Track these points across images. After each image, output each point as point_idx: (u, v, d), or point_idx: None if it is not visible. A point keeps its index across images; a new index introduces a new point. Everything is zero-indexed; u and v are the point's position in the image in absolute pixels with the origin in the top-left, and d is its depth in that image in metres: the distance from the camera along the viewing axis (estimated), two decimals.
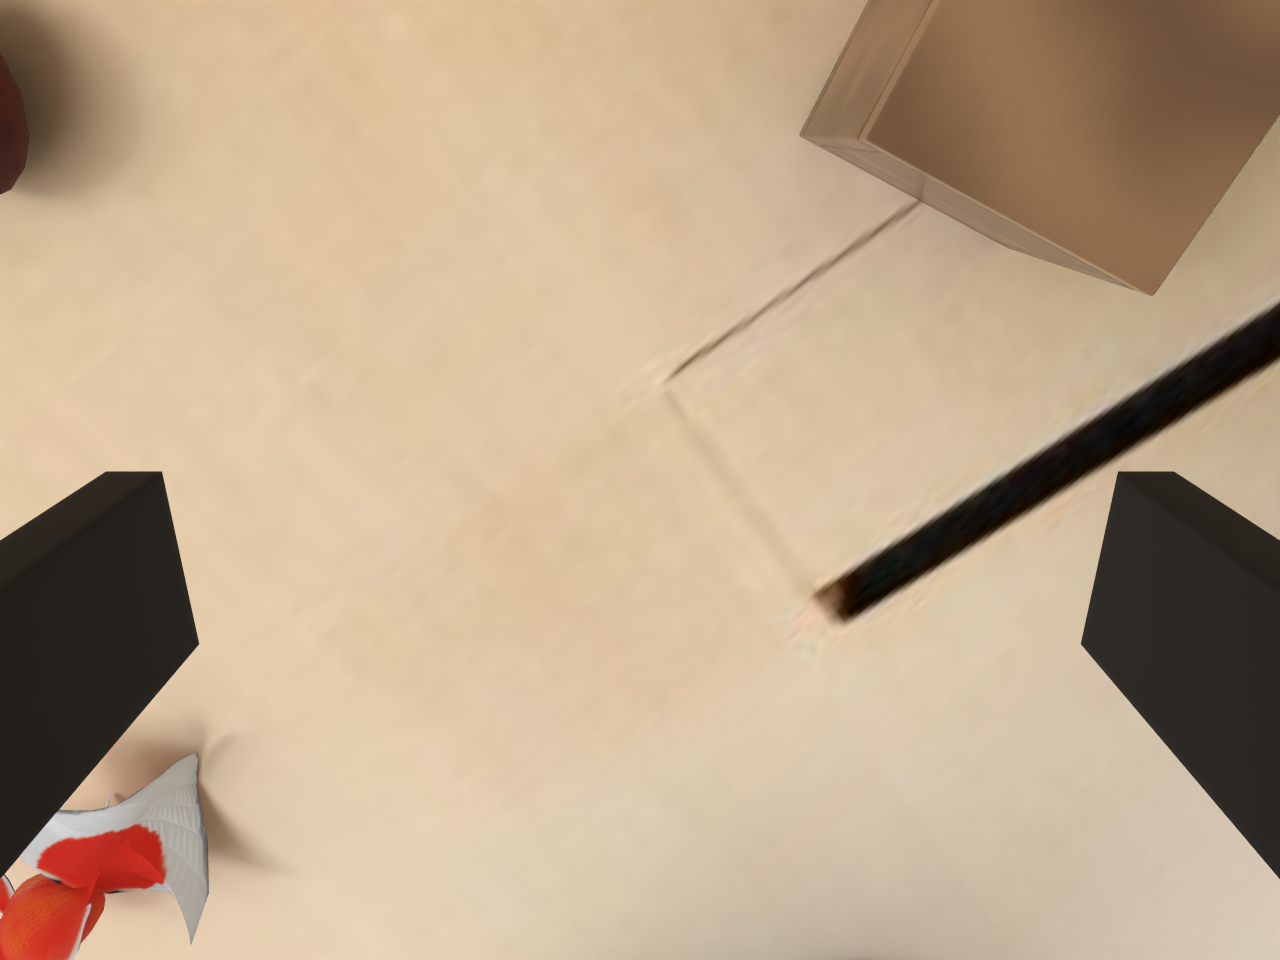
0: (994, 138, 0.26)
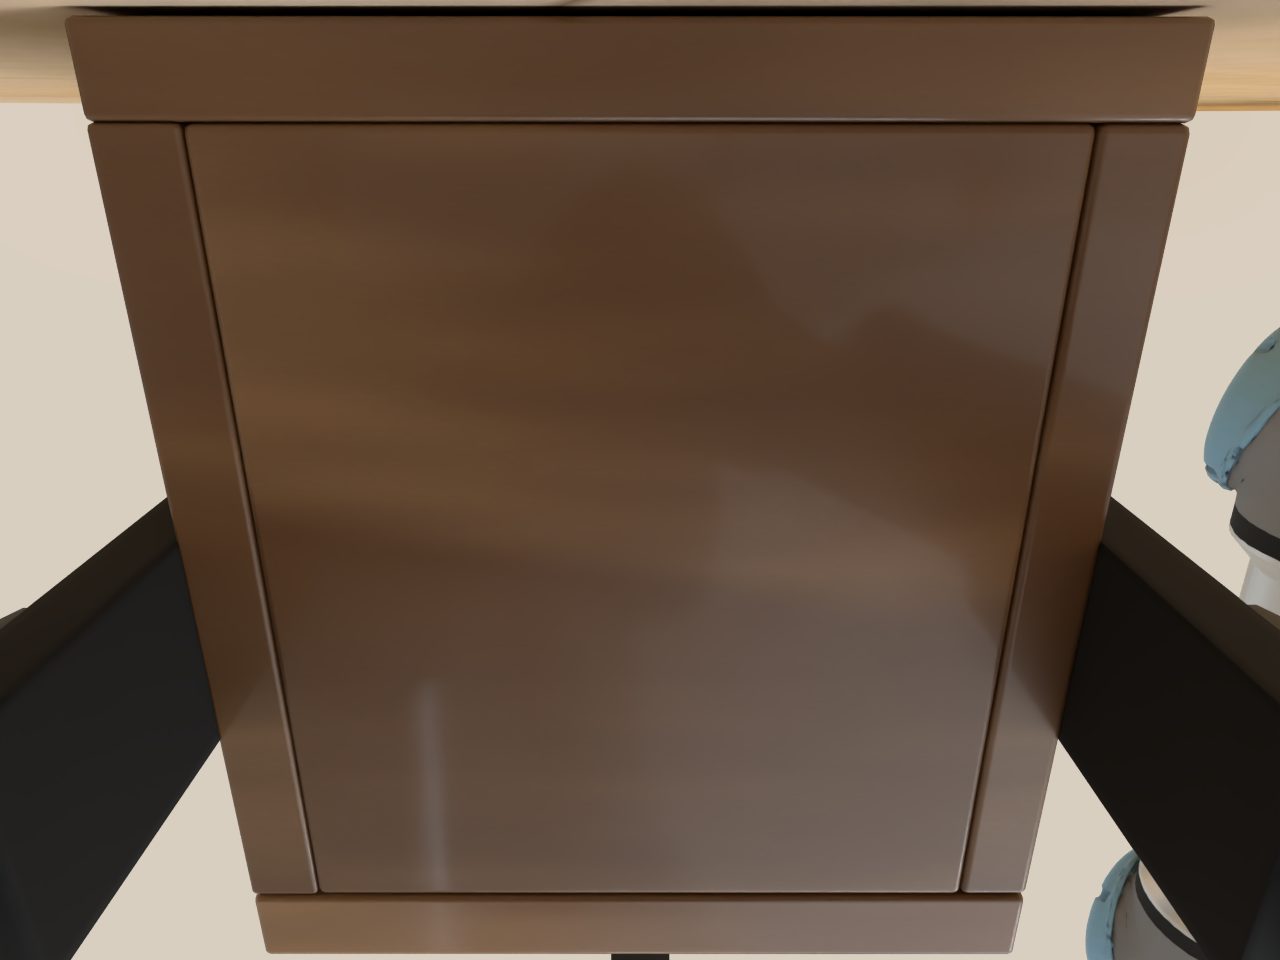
0: None
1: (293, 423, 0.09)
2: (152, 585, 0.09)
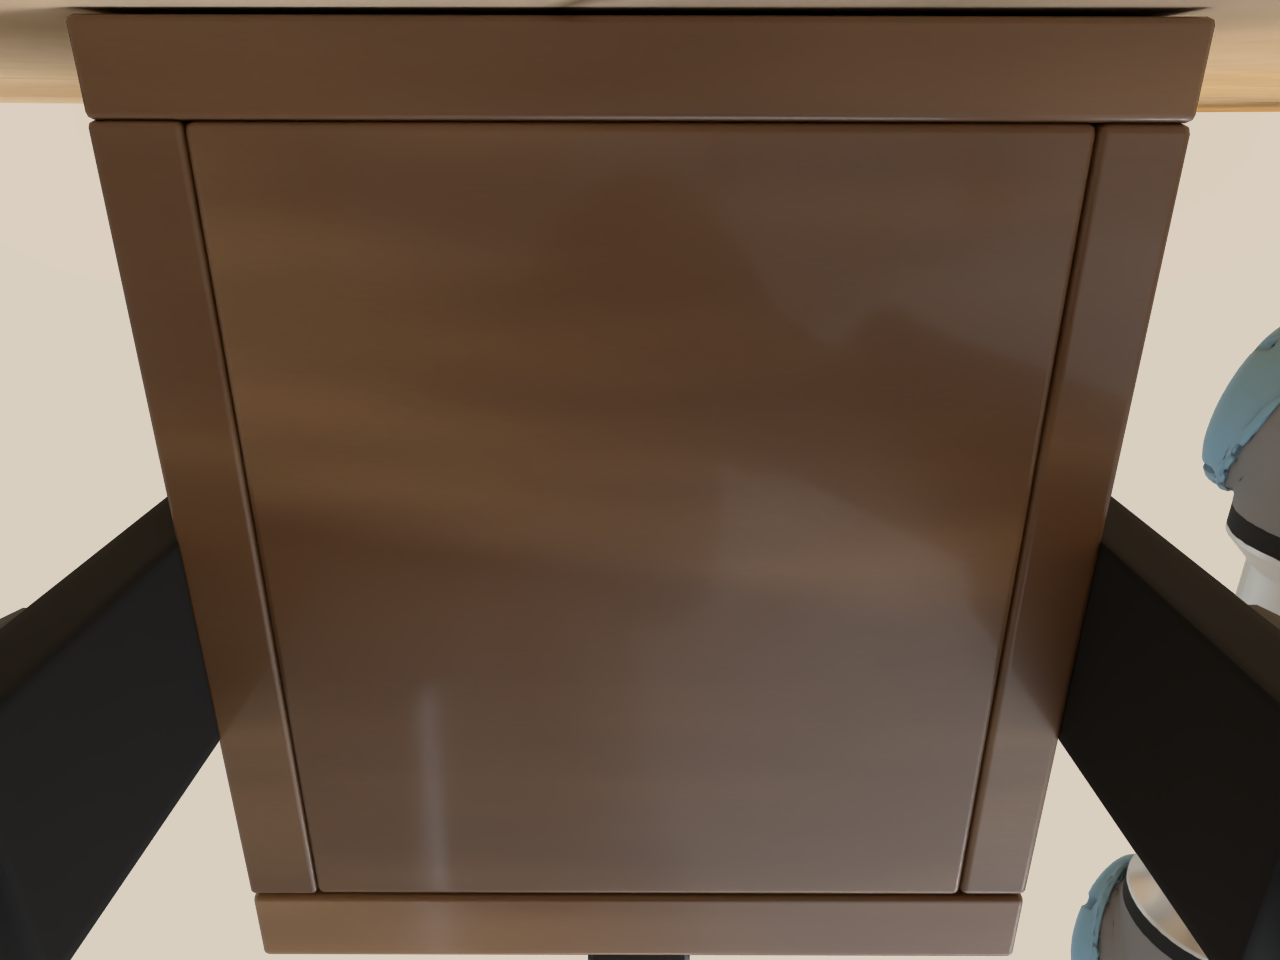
0: None
1: (293, 421, 0.09)
2: (152, 585, 0.09)
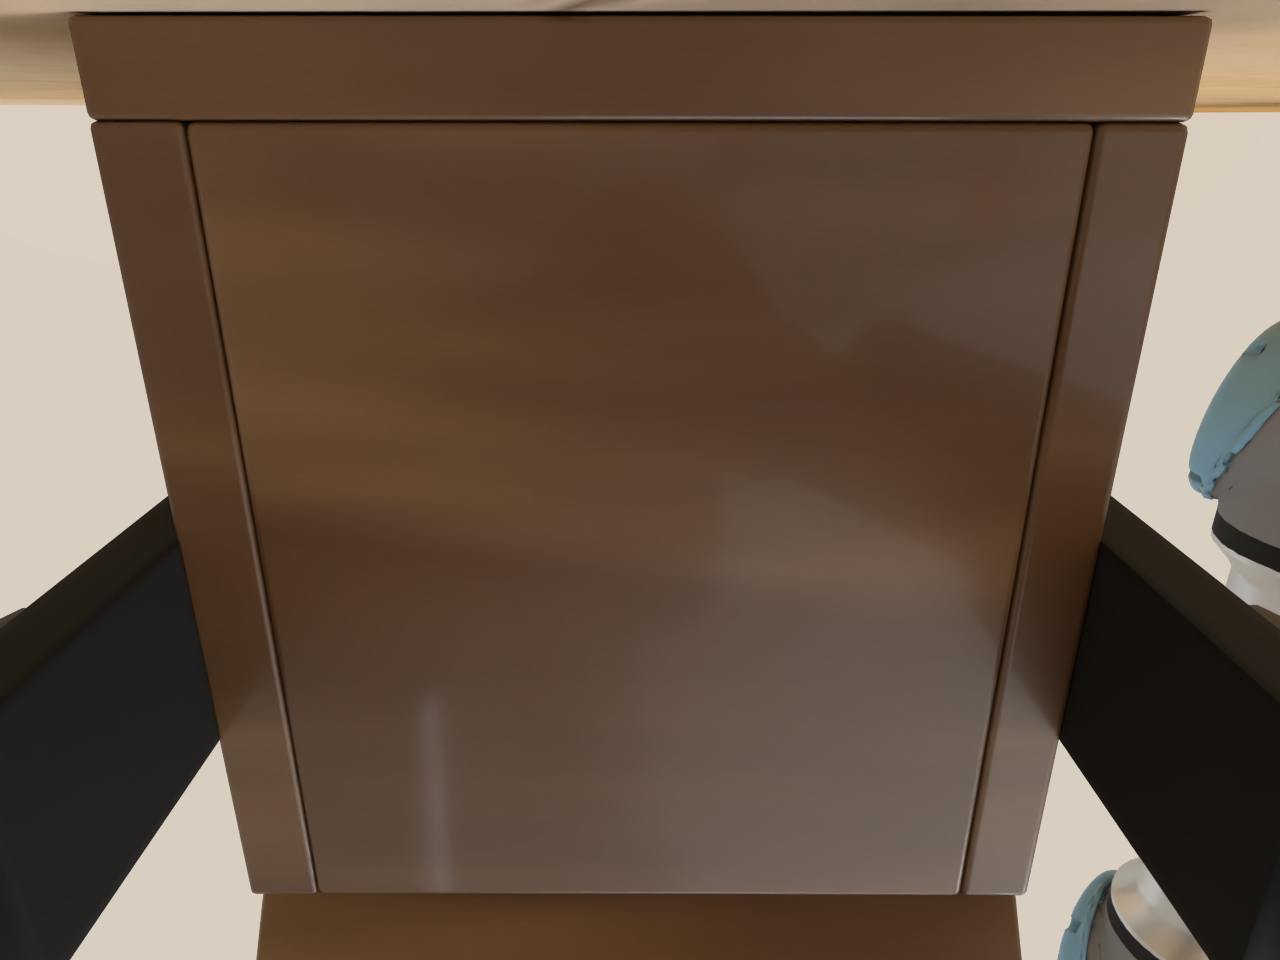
0: None
1: (293, 421, 0.09)
2: (151, 585, 0.09)
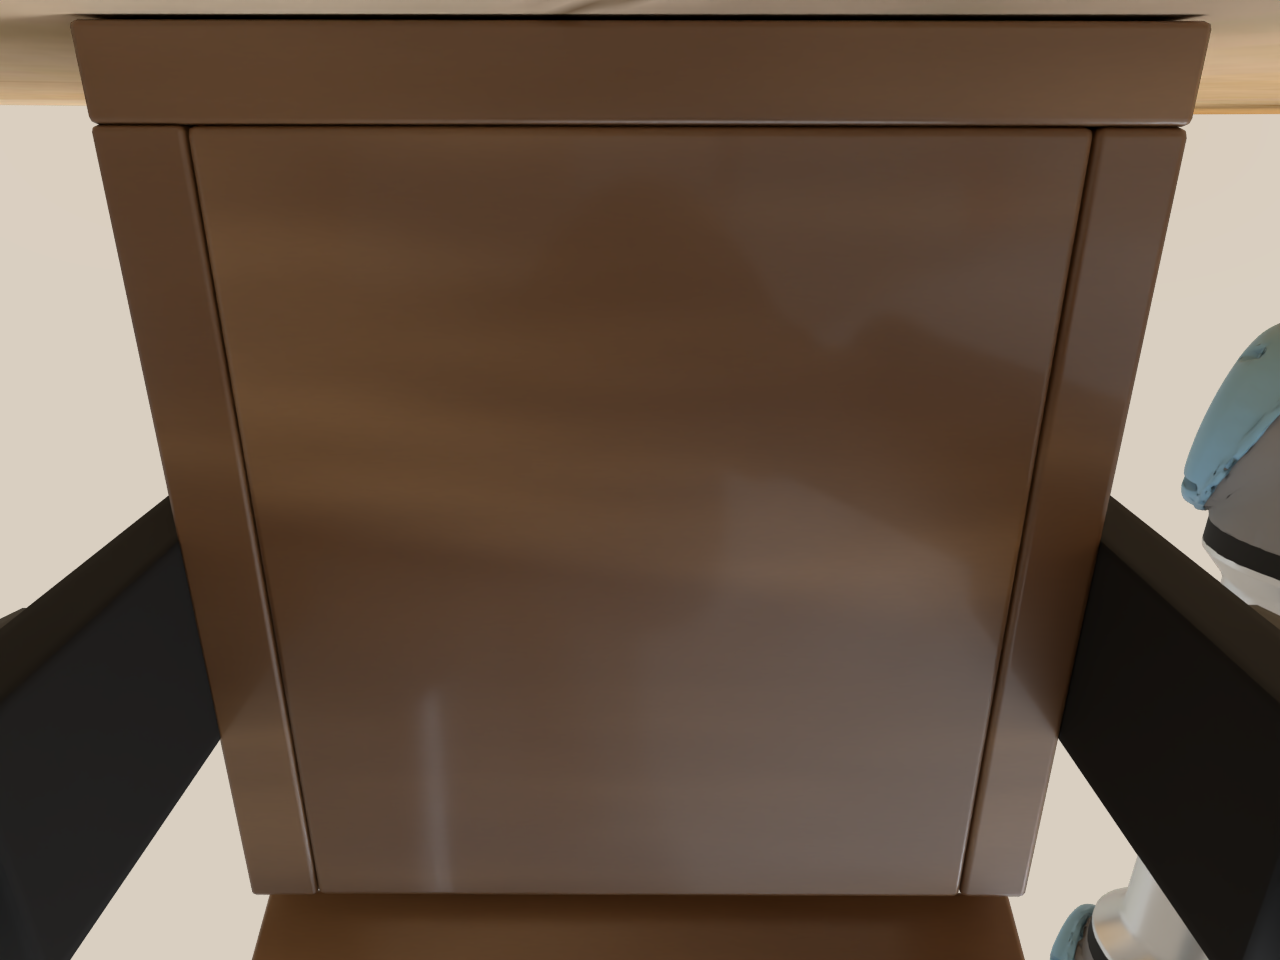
0: None
1: (294, 424, 0.09)
2: (151, 585, 0.09)
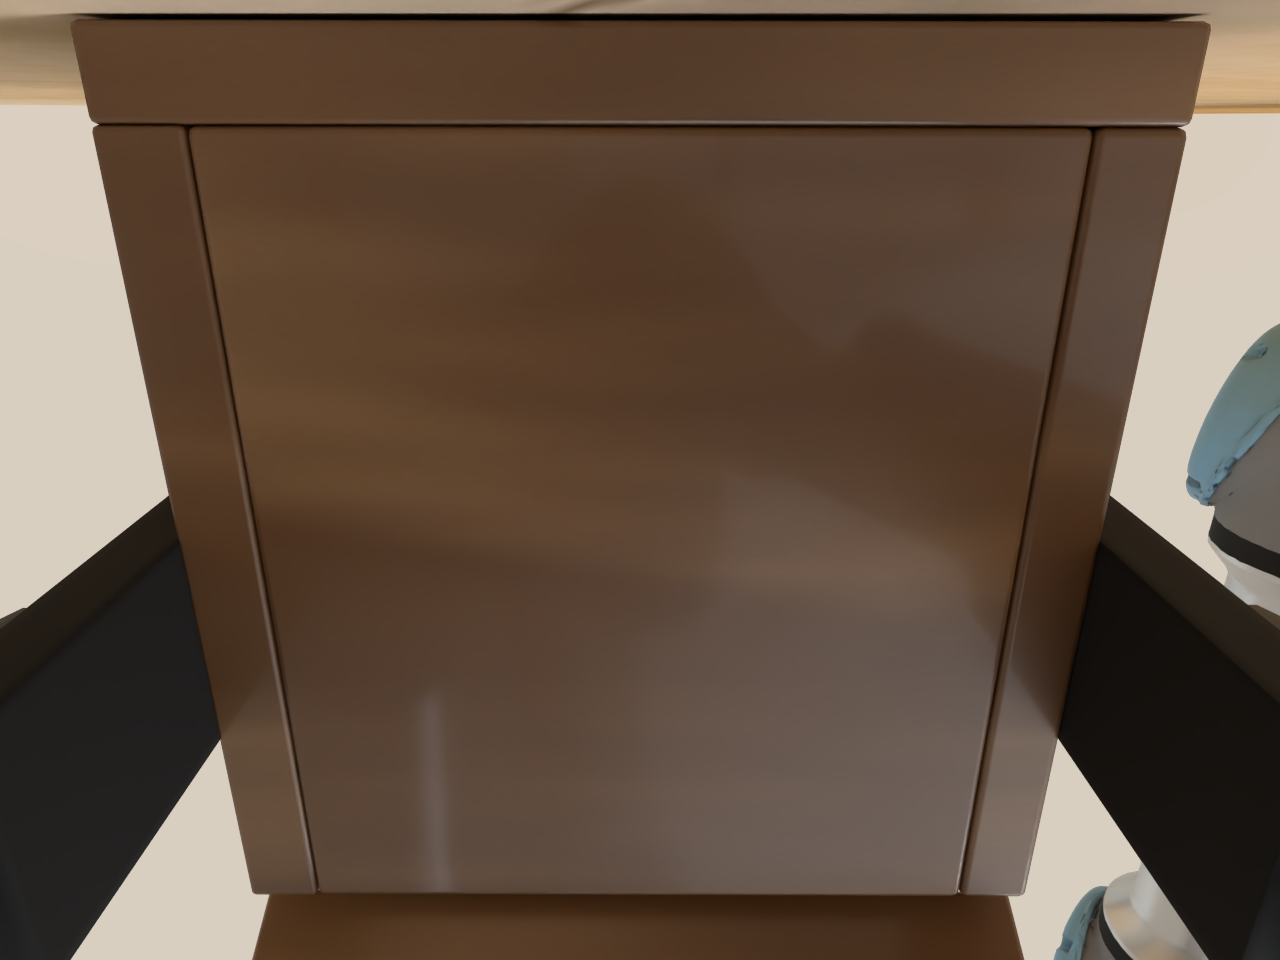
0: None
1: (295, 424, 0.09)
2: (151, 585, 0.09)
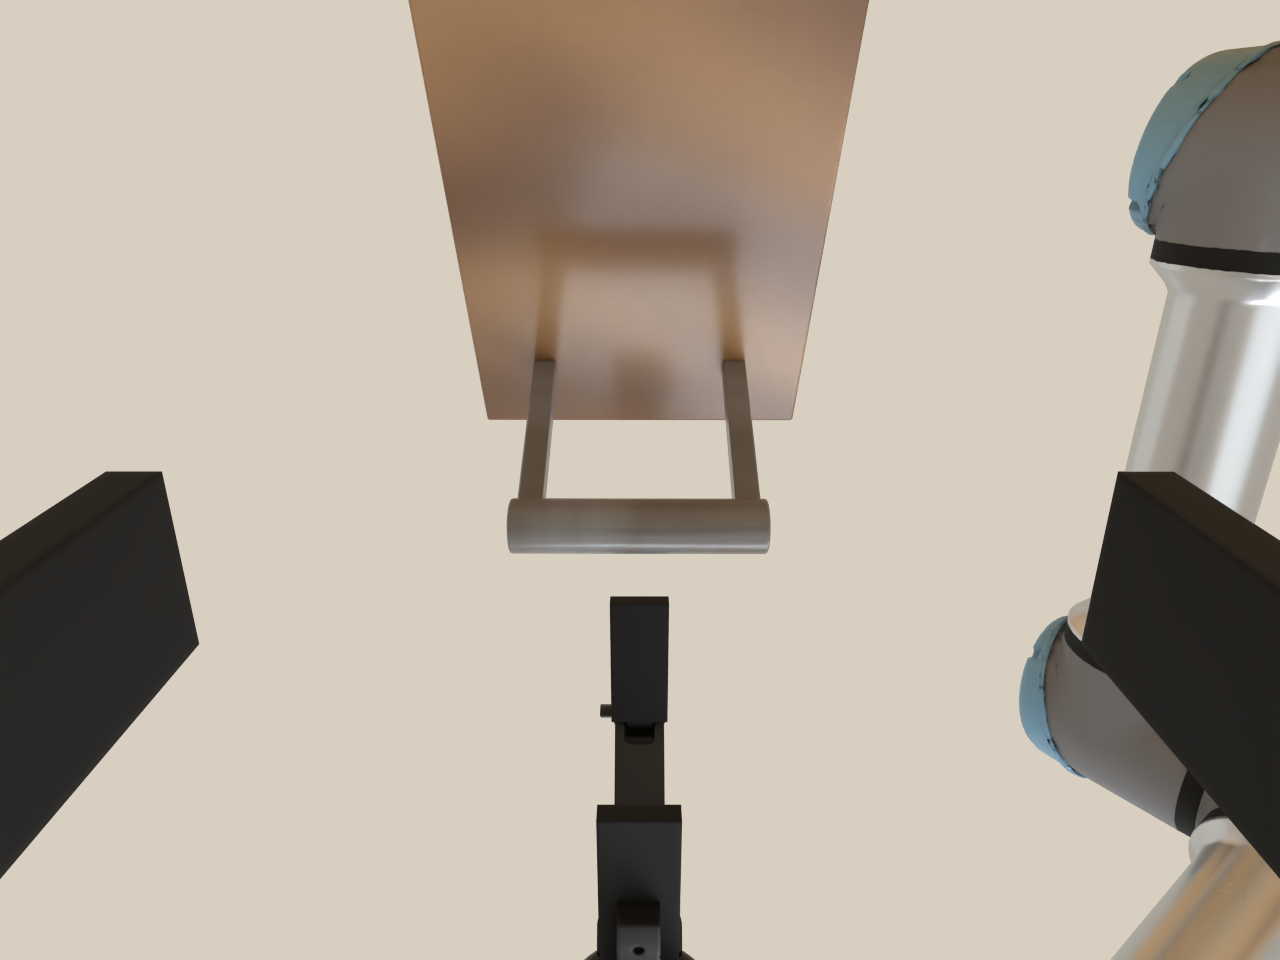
0: (719, 14, 0.20)
1: None
2: None
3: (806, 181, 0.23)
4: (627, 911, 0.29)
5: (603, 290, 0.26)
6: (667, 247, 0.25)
